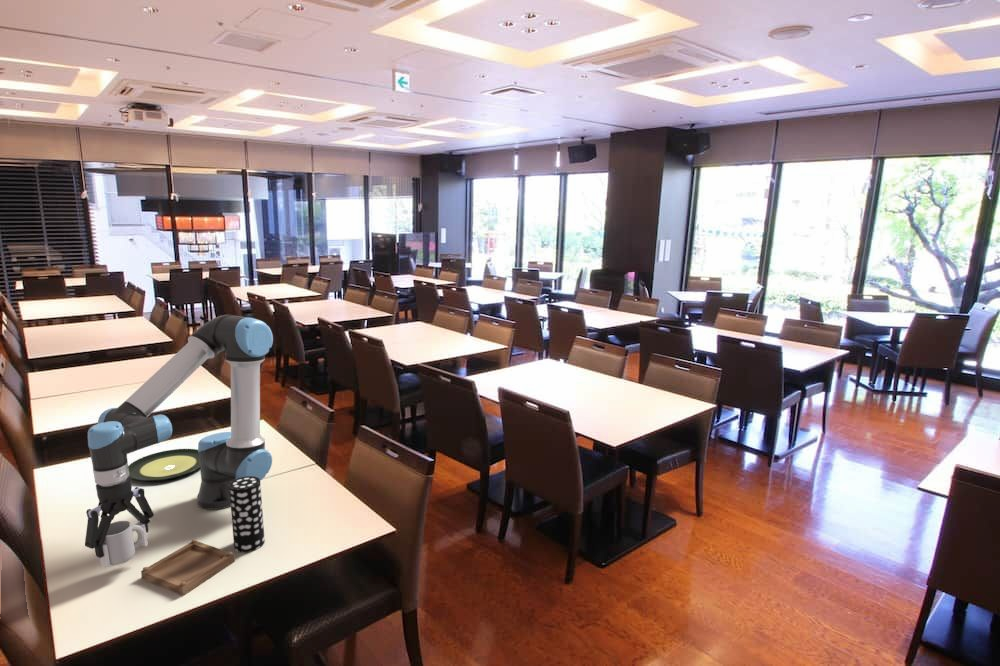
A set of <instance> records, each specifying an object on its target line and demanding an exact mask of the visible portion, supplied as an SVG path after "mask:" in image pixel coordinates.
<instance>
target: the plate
mask: <svg viewBox="0 0 1000 666" xmlns="http://www.w3.org/2000/svg"><path fill="white" fill-rule="evenodd" d="M168 465H175V467H174V468H173V469H170V468H169V469H170V470H166V469H164V468H165V467H166V466H168ZM128 468H129V477H130V480H131V479H132V480H135V481H142V482H152V481H153V482H154V481H155V482H156V481H165V480H171V479H175V478H179V477H182V476H185V475H188V474H190V473H193V472H195V471H197V470H199V469H200V461H199V452H198V448H197V449H196V448H175V449H170V450H163V451H157V452H155V453H151V454H149V455H146V456H142V457H140V458H138V459H137V460H134V461H132V462H131V463H130V464H128Z"/></svg>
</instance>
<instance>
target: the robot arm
mask: <svg viewBox="0 0 1000 666" xmlns="http://www.w3.org/2000/svg"><path fill="white" fill-rule="evenodd" d="M187 341H188V342H187V343H186V344H185V345H184V346H183V347H181V349H179V350H178V351H177V352H176V353H175V355H173V356H172V357H171V358H169V359H168V361H167V362H165V363H164V365H162V366H161V367H160V368H159V369H158V370H157V371H156V372H155V373H154V374H153V375H151V376H150V377H149V378H148V379H147V380H146V381H145V382H144V383H143V384H142V385H141V386H140V387H138V388H137V390H135V391H134V392H133V393H132V394H131V395H130V396H129V397H128V398H126V400H125V401H124V402H122V403H121V404H120V405H119V406H118V407H112V408H108V409H106V410H104V411H103V412H102V413H101V414H100V415H99V417H98V420H97V423H96V424H94V425H92V426H91V427H90V428H89V429H88V431H87V446H88V448H89V453H90V454H89V455H90V458H91V464H92V470H93V471H92V472H93V478H94V482H95V483H94V484H96V485H95V489H96V496H97V498H98V504H97V506H95V507H94V508H92V509H91V508H88V509H87V510H86V516H87V524H86V532H85V533H86V534H85V540H84V547H87V548H89V549H92V550H93V549H94V553H95V556H96V557H97V558H99V561H100V565H101V567H104V568H106V569H108V568H110V567H111V565H110V560H109V554H108V548H107V544H104V541H105V538H106V535H107V532H108V529H109V526H110V524H111V523H112V521H114V518H115V516H117V515H119V514H120V513H121V512H125V511H127V512H128V513H129V514H130V515H132V517H134V518H135V519H136V520H137V521H138V522H136V523H135V525H139V526H141V527H142V528H143V530H144V533H145V538H144V541H143V543H142V544H141V545H140V546H143V547H147V546H149V542H148V535H147V533H149V525H148V524H150V522H151V520H150V519H152V518H154V516H155V514H154V513H153V510H152V508H151V506H150V504H149V502H148V500H147V498H146V496H145V489H144V488H142V487H138V486H136V487H134V489H132V481H131V478H130V477H129V468H128V466H129V463H128V456H127V455H129V454H131V453H134V452H137V451H139V450H142V449H145V448H148V447H151V446H153V445H157V444H160V443H162V442H164V441H167V440H168V439H170V438H171V436H172V434H173V425H172V423H171V420H170V419H169V417H168V416H166V415H165V414H162V413H161V414H157V415H152V416H150V415H151V414H152V413H153V412H154V411H156V410H157V408H158V407H159V406H161V404H163V403H164V401H165V400H167V398H169V397H170V396H171V394H173V393H174V392H175V391H176V390H177V389H178V388H179V387H180V386H182V384H183V383H184V382H185V381H187V380H188V378H189V377H190V376H191V375H193V373H194V372H196V371H197V369H199V368H200V367H201V366H202V365H203V364H204V363H205V362H206V361H207V360H208V359H213V358H215V356H217V355H218V354H219V353H221V352H224V357H225V359H224V361H226V363H228V364H229V366H230V431H224V432H218V433H212V434H210V435H206V436H205V437H203V438H201V439H200V440H199V442H198V446H197V450H198V452H199V461H200V468H199V469H200V470H199V471H200V479H201V480H200V486H199V491H198V493H197V497H196V501H197V505H198V507H200V508H202V509H206V510H220V509H222V510H223V509H226V508H229V507H230V508H231V504H230V492H229V484H230V482H232V481H233V480H235V479H237V478H241V477H246V476H254V477H258V478H259V479H260V481H262V480H263V479H264V478H265V477H266V475H267V474H268V473H269V472H270V471H271V468H272V465H273V456H272V454H271V453H270V452H269V451H268V450H267V449H266V441H265V440H266V439H265V438H264V437H263V436H262V435H261V385H260V384H261V364H262V363H263V362H264V361H265V360H266V355H267V354H268V353H269V352H270V349H271V348H272V346H273V343H274V335H273V332H272V330H271V328H270V326H269V325H267V323H266V322H264V321H262V320H260V319H257V318H254V317H247V316H239V315H234V314H224V315H223V314H222V315H218V316H217V317H213V318H212V319H210V320H208V321H207V322H206V323H204V324H203V325H202V326H200V327H199V328H197V329H196V330H195V331H193V333H191V335H190V336H188V338H187ZM149 416H150V417H149ZM133 498H135V501H137V502H136V503H137V504H138V506H139V508H140V510H141V511H140V510H139V509H137V508H136V506H135V505H134V504H133V503H132V499H133ZM100 512H101V513H100ZM99 517H100V518H99ZM99 519H100V520H99Z"/></svg>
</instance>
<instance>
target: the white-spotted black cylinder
mask: <svg viewBox="0 0 1000 666" xmlns="http://www.w3.org/2000/svg"><path fill="white" fill-rule="evenodd" d="M261 485H262V484H261V480H260V479H259V478H258V477H254V476H246V477H241V478H237V479H235V480H233V481H232V482H230V484H229V492H230V504H231V506H230V512H231V513H230V514H231V515H230V516H231V525H232V526H231V527H232V537H233V547H234V550H235V551H236V552H239V553H250V552H255V551H257V550H258V549H260V548H262V547H263V545H265V542H266V541H265V540H266V539H265V530H264V529H265V527H264V513H263V502H262V501H263V500H262V486H261Z"/></svg>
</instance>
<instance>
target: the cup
mask: <svg viewBox="0 0 1000 666" xmlns="http://www.w3.org/2000/svg"><path fill="white" fill-rule="evenodd" d="M134 531H135V532H136V533H137V540H136V541H134V535H133V532H134ZM144 538H145V533H144V530H143V528H142V527H141V526H139V525H136V524H133V525H131V521H127V520H118V521H114V522H111V524H110V526H109V529H108V532H107V535H106V538H105V541H104V544H107V548H108V554H109V560H110V566H119V565H122V564H124V563H127V562H128V561H130V560H131V559H133V557H134V556H135V554H136V549H137V548H139V547H141V546H142V545H141V544H142V543H143V541H144Z"/></svg>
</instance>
